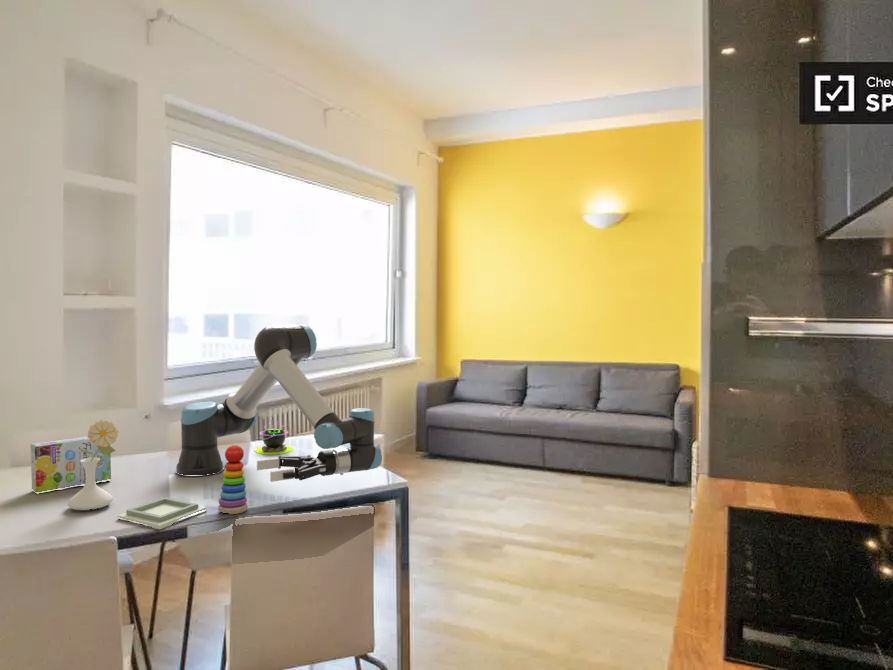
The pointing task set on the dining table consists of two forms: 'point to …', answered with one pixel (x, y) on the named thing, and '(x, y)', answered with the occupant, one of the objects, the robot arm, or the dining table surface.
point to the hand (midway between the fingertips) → (263, 470)
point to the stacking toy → (233, 483)
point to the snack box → (65, 463)
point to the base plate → (161, 512)
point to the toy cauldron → (273, 442)
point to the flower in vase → (91, 493)
